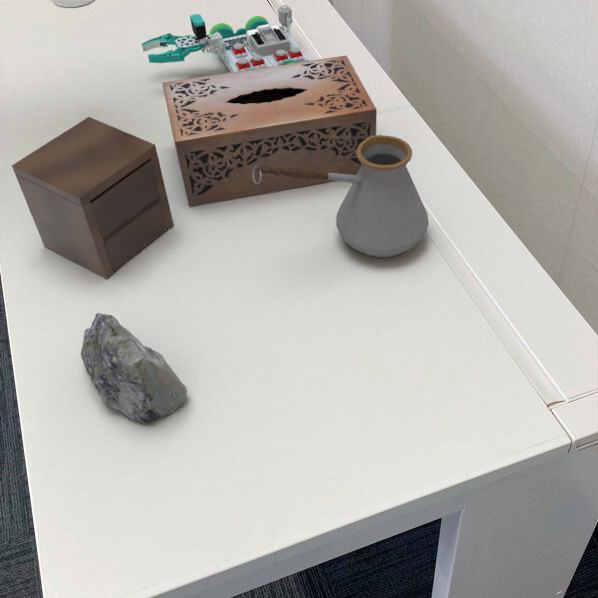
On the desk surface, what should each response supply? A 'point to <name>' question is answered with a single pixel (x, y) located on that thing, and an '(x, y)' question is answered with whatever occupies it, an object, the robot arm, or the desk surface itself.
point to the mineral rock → (129, 372)
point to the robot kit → (234, 43)
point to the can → (72, 3)
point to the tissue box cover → (267, 126)
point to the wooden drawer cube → (95, 195)
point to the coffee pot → (374, 198)
